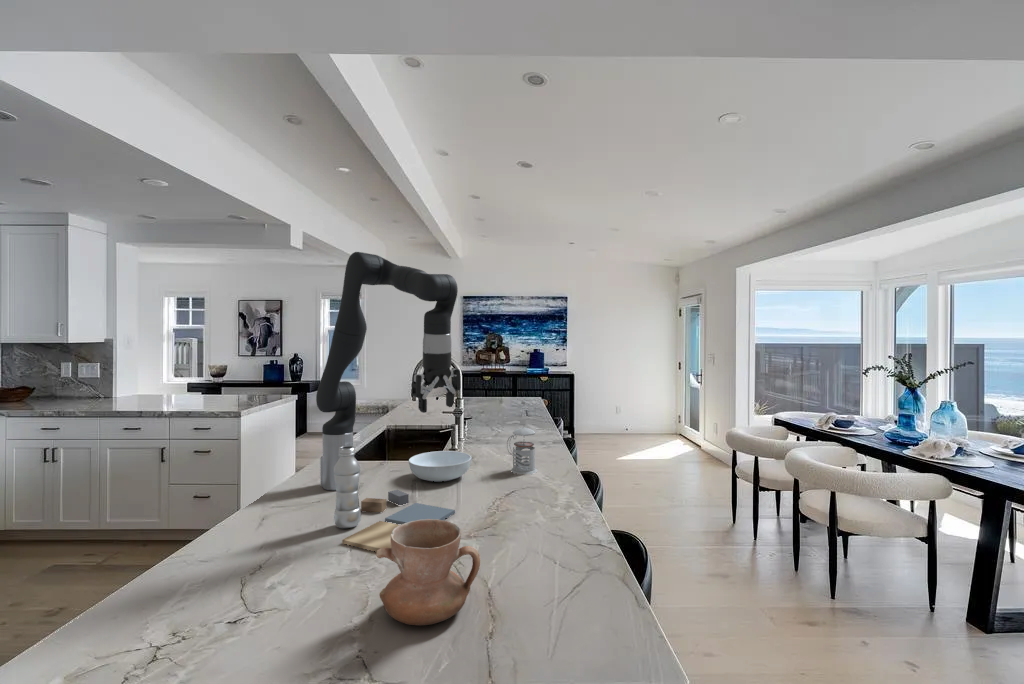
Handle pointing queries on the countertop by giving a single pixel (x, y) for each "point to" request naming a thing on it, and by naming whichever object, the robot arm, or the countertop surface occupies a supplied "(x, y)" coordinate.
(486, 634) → the countertop surface
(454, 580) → the ceramic jug
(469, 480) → the countertop surface
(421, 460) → the serving bowl
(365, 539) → the oak mat
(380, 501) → the walnut brick
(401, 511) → the slate mat
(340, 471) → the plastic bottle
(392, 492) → the charcoal brick
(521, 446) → the french press
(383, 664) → the countertop surface
